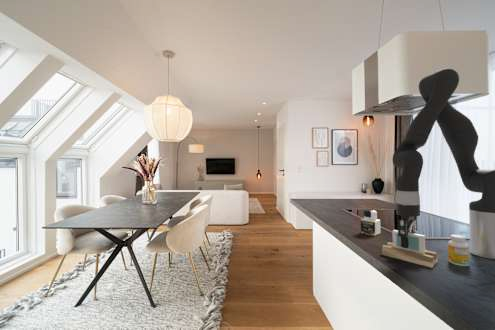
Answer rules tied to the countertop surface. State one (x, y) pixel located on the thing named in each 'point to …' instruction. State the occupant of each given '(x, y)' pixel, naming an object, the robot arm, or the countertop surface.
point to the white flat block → (410, 242)
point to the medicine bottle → (370, 223)
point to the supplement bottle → (458, 250)
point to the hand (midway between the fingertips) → (408, 244)
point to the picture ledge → (410, 255)
